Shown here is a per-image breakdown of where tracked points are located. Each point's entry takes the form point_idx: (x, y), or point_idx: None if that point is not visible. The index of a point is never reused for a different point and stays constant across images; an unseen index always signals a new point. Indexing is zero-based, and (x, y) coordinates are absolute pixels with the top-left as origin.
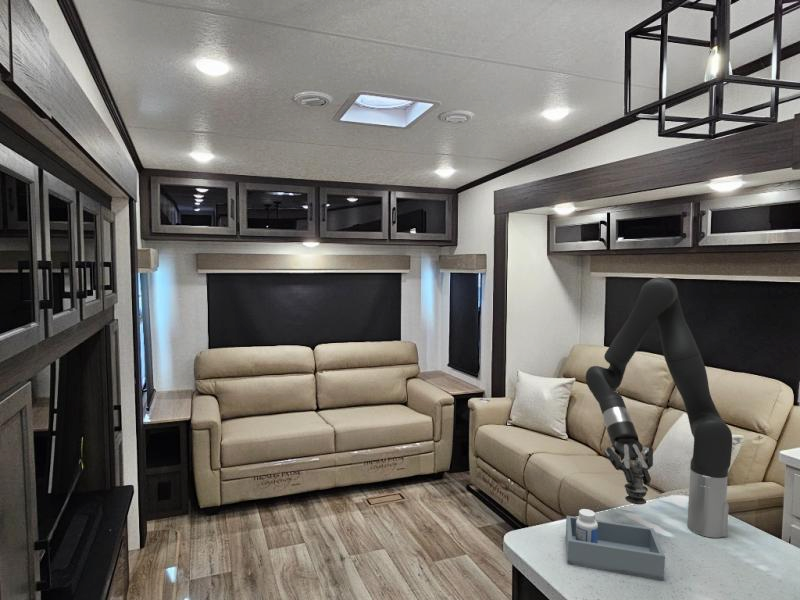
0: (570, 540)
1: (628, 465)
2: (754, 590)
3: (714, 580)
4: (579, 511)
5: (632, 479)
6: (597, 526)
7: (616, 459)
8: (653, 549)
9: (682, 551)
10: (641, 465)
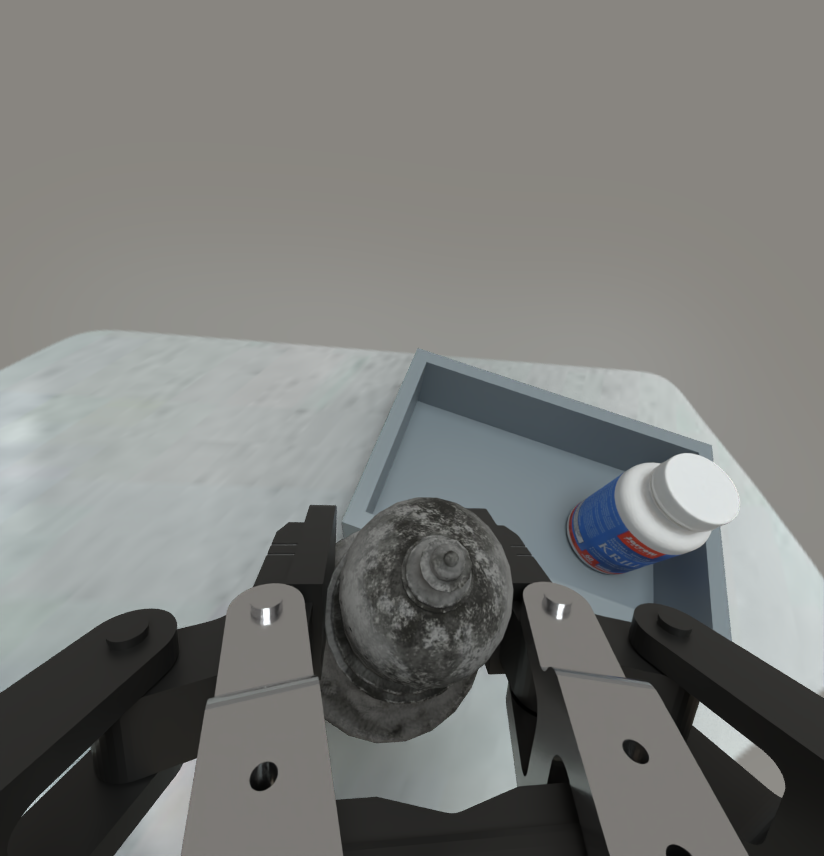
0: (704, 446)
1: (543, 615)
2: (185, 345)
3: (259, 386)
4: (738, 498)
5: (486, 517)
6: (622, 478)
7: (792, 701)
8: (392, 456)
9: (226, 538)
10: (386, 509)
